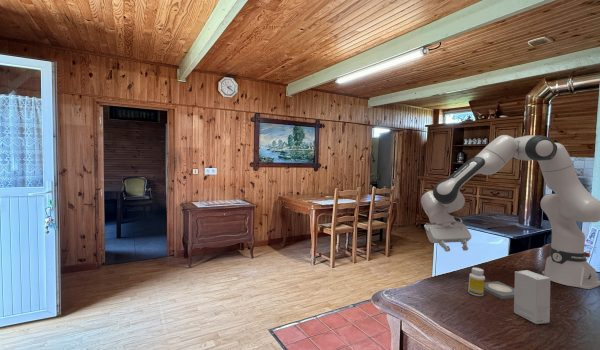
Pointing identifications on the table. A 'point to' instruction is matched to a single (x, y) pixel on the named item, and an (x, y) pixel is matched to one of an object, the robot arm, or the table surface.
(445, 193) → the robot arm
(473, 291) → the supplement bottle
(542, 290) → the skincare box
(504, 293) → the board
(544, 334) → the table surface
